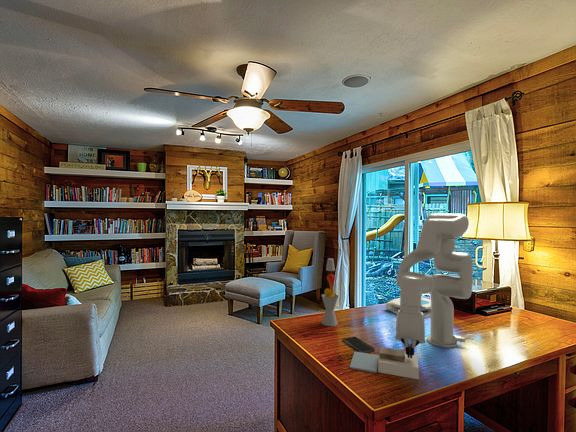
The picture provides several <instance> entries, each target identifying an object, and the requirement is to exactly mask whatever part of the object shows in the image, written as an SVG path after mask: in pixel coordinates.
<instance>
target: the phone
mask: <svg viewBox="0 0 576 432" xmlns="http://www.w3.org/2000/svg"><path fill="white" fill-rule="evenodd" d="M342 342H343V343H345V344H346V345H347V346H349V347H350V348H352V349H353V350H354V351H355V352H361V353H367V354H370V353H374V352H375V347H373V346H371V345H370V344H368V343H366V342H365V341H363V339H360V338H359V337H357V336H350V337H343V338H342Z"/></svg>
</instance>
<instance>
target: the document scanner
mask: <svg viewBox="0 0 576 432" xmlns="http://www.w3.org/2000/svg"><path fill="white" fill-rule="evenodd" d="M421 306H423V307H425V308H426V310H425V312H422V313H423V315H424V319H426V318H429V317H430V318H431V298H426V297H422V296H421ZM385 309H387V310H389V311H390V312H392V313H393V314H396V315H397V312H398V310H399V309H400V297H398V298H393V299H391V300H390V301H387V302H386V303H385Z"/></svg>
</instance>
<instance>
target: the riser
mask: <svg viewBox="0 0 576 432" xmlns="http://www.w3.org/2000/svg"><path fill="white" fill-rule="evenodd" d="M404 352H405V362H399V361H393V360H387V359H382V358H380V353H378V354H379V360H378V367H377V373H379V374H380V373H381V374H386V375H392V376H398V377H404V378H409V379H415V380H419V379H420V368H419V359H418V358H419V357H418V354H417V353H414V356H413V355H412V358H408V356H407V354H406V351H404Z"/></svg>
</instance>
